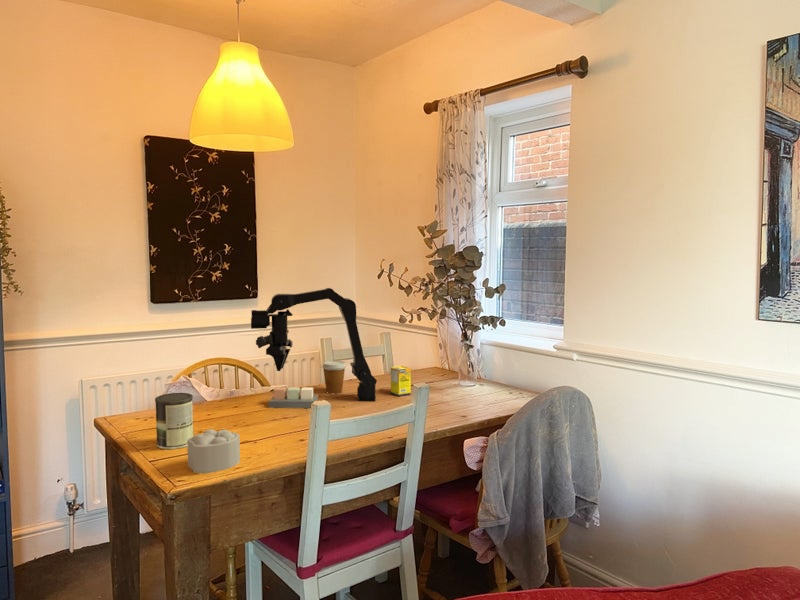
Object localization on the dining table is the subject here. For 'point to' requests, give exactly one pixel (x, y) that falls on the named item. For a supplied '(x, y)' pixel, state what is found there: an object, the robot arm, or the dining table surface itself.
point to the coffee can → (174, 420)
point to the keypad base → (291, 403)
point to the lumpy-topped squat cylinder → (213, 451)
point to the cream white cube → (306, 393)
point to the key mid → (293, 393)
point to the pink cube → (280, 393)
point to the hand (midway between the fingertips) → (279, 369)
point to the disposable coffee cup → (334, 376)
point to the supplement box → (400, 380)
